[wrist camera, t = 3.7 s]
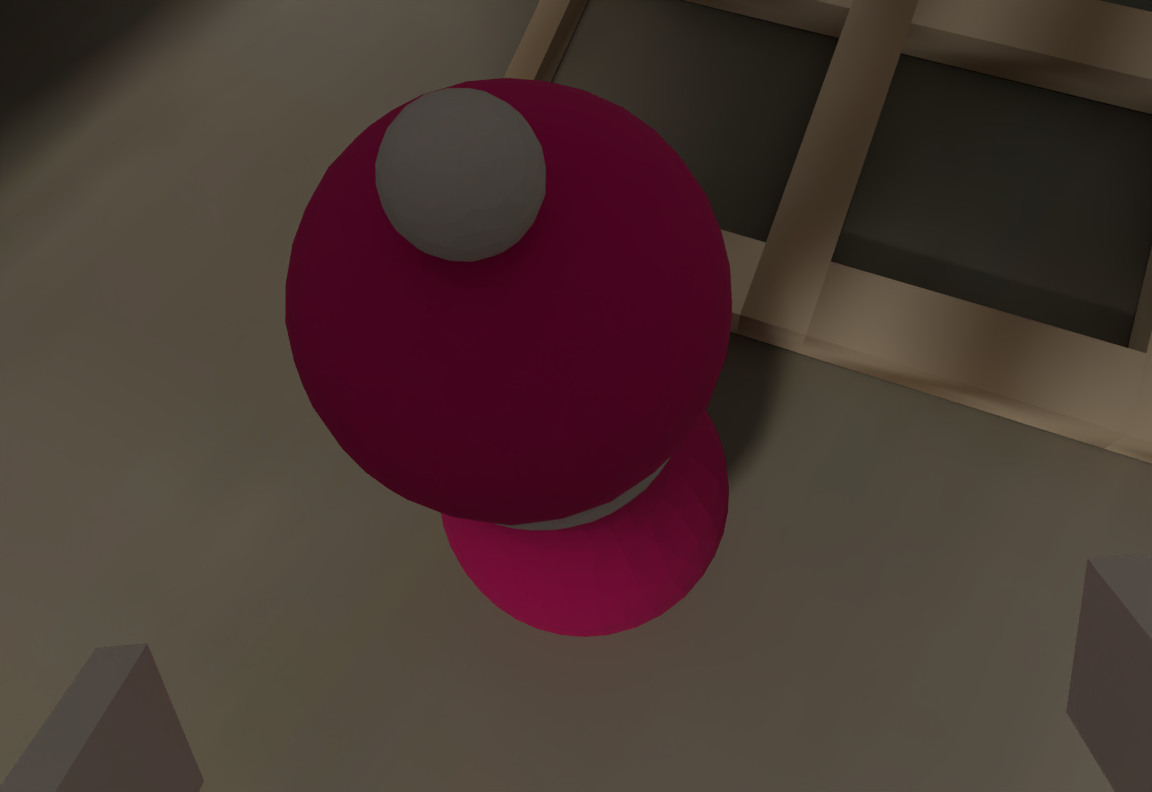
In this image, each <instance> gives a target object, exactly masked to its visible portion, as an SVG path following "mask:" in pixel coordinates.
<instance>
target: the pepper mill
mask: <svg viewBox="0 0 1152 792" xmlns="http://www.w3.org/2000/svg"><path fill="white" fill-rule="evenodd" d="M731 321H732V291H731V272H730V264H729V260H728V256H727V252H726V248H725V243H724V239H723V235H722V232H721V229H720V227H719V224H718V222H717V220H716V217H715V215H714V212H713V210H712V207H711V205H710V202H709V200H708V198H707V195H706V193H705V192H704V190H703V189H702V188H701V186H700V185H699V183H698V182H697V180H696V179H695V177H694V176H693V175H692V173H691V172H690V170H689V169H688V167H687V166H686V164H685V163H684V162H683V160H682V159H681V158H680V157H679V155H678V154H677V153H676V152H675V151H674V150H673V149H672V148H671V147H670V146H669V145H668V144H667V142H666V141H665V140H664V139H663V138H662V137H661V136H660V135H659V134H658V133H657V132H656V131H655V130H654V129H653V128H651V127H650V126H648V125H647V124H646V123H644V122H643V121H641V120H640V119H638V118H637V117H636V116H634V115H633V114H631V113H630V112H628V111H627V110H626V109H624V108H623V107H620V106H618V105H616V104H614V103H611V102H609V101H607V100H605V99H602V98H600V97H598V96H595V95H593V94H591V93H589V92H586V91H584V90H581V89H576V88H572V87H568V86H564V85H560V84H556V83H551V82H547V81H540V80H528V79H516V78H501V79H489V80H478V81H467V82H463V83H460V84H457V85H453V86H450V87H447V88H443V89H440V90H437V91H433V92H430V93H427V94H423V95H420V96H419V97H417V98H415V99H413V100H411V101H409V102H407V103H405V104H403V105H401V106H399V107H397V108H396V109H394V110H392V111H390V112H389V113H387V114H386V115H385V116H383V117H382V118H380V119H379V120H377V121H376V122H375V123H373V124H372V125H370V126H369V127H368V128H367V129H366V130H364V131H363V132H362V133H361V134H360V135H359V136H358V137H357V138H356V139H355V140H354V141H353V142H352V143H351V144H350V145H349V146H348V147H347V148H346V149H345V150H344V151H343V153H342V154H341V155H340V156H339V157H338V158H337V159H336V160H335V161H334V162H333V163H332V164H331V165H330V166H329V167H328V169H327V171H326V173H325V174H324V176H323V178H322V180H321V182H320V183H319V185H318V187H317V189H316V190H315V192H314V194H313V196H312V198H311V199H310V201H309V203H308V205H307V207H306V209H305V211H304V214H303V217H302V219H301V222H300V225H299V228H298V230H297V233H296V236H295V239H294V242H293V245H292V251H291V256H290V262H289V268H288V274H287V280H286V327H287V331H288V336H289V340H290V345H291V349H292V354H293V359H294V362H295V365H296V368H297V370H298V373H299V376H300V379H301V382H302V384H303V387H304V389H305V391H306V393H307V395H308V397H309V400H310V402H311V404H312V406H313V408H314V409H315V411H316V412H317V413H318V415H319V416H320V418H321V419H322V421H323V422H324V423H325V425H326V426H327V428H328V429H329V431H330V432H331V433H332V435H333V436H334V438H335V439H336V440H337V442H338V443H339V445H340V446H341V448H342V449H343V450H344V451H345V452H346V453H347V454H348V455H349V456H350V457H351V458H352V459H353V460H354V461H355V462H356V463H357V464H358V465H359V466H360V467H361V468H362V469H363V470H364V471H365V472H366V473H367V474H369V475H370V476H372V477H373V478H374V479H376V480H377V481H379V482H380V483H381V484H383V485H384V486H385V487H387V488H388V489H390V490H392V491H393V492H395V493H397V494H399V495H400V496H402V497H404V498H406V499H407V500H410V501H413V502H415V503H418V504H420V505H423V506H425V507H428V508H430V509H433V510H436V511H438V512H441V515H442V521H443V526H444V529H445V532H446V535H447V538H448V540H449V543H450V546H451V548H452V550H453V552H454V554H455V555H456V557H457V559H458V561H459V562H460V564H461V566H462V568H463V569H464V571H465V572H466V574H467V575H468V576H469V577H470V579H471V580H472V581H473V582H474V584H475V585H476V586H477V587H478V588H479V590H480V591H481V592H482V593H483V594H484V595H485V596H486V597H487V598H489V599H490V600H491V601H492V602H493V603H494V604H495V605H496V606H497V607H499V608H500V609H502V610H503V611H505V612H506V613H508V614H509V615H511V616H512V617H514V618H515V619H517V620H519V621H521V622H524V623H526V624H528V625H530V626H533V627H535V628H537V629H541V630H544V631H548V632H552V633H556V634H560V635H571V636H582V637H587V636H599V635H609V634H613V633H616V632H620V631H624V630H628V629H632V628H635V627H638V626H640V625H642V624H644V623H646V622H648V621H650V620H652V619H654V618H656V617H658V616H660V615H662V614H663V613H664V612H666V611H667V610H668V609H669V608H671V607H672V606H673V605H675V604H676V603H677V602H678V601H680V600H681V599H682V598H684V597H685V596H686V595H687V593H688V592H689V591H690V590H691V589H692V588H693V586H694V585H695V584H696V583H697V582H698V581H699V579H700V578H701V577H702V576H703V575H704V573H705V571H706V570H707V568H708V566H709V564H710V563H711V561H712V559H713V558H714V556H715V554H716V551H717V549H718V546H719V543H720V541H721V538H722V536H723V533H724V528H725V523H726V518H727V513H728V497H729V486H728V478H727V469H726V461H725V455H724V452H723V448H722V445H721V441H720V438H719V435H718V433H717V431H716V429H715V426H714V424H713V422H712V420H711V418H710V416H709V414H708V412H707V411H706V408H707V406H708V404H709V401H710V398H711V396H712V393H713V391H714V388H715V385H716V383H717V380H718V377H719V375H720V372H721V369H722V367H723V364H724V361H725V359H726V356H727V351H728V344H729V336H730V329H731Z"/></svg>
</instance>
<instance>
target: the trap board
mask: <svg viewBox="0 0 1152 792" xmlns="http://www.w3.org/2000/svg"><path fill="white" fill-rule="evenodd" d="M684 1H688V2H692V3H696V4H700V5H704V6H708V7H712V8H716V9H721V10H725V11H729V12H733V13H737V14H741V15H745V16H749V17H753V18H758V19H762V20H766V21H770V22H774V23H778V24H782V25H786V26H790V27H795V28H799V29H803V30H807V31H811V32H815V33H819V34H823V35H828V36H832V37H836V38H839V41H838V43H837V46H836V49H835V52H834V55H833V57H832V60H831V63H830V66H829V68H828V71H827V74H826V77H825V80H824V82H823V85H822V88H821V91H820V93H819V96H818V99H817V102H816V105H815V107H814V110H813V113H812V116H811V119H810V121H809V124H808V127H807V130H806V132H805V135H804V138H803V141H802V144H801V146H800V149H799V152H798V155H797V157H796V160H795V163H794V166H793V169H792V171H791V174H790V177H789V180H788V182H787V185H786V188H785V191H784V194H783V196H782V199H781V202H780V205H779V208H778V210H777V213H776V216H775V219H774V221H773V224H772V227H771V230H770V233H769V235H768V238H767V241H766V242H762V241H759V240H755V239H752V238H749V237H745V236H742V235H738V234H735V233H731V232H728V231H724V230H721V232H722V235H723V239H724V243H725V248H726V252H727V256H728V260H729V264H730V272H731V291H732V321H731V329H730V332H733V333H736V334H739V335H742V336H746V337H749V338H752V339H755V340H758V341H762V342H765V343H768V344H771V345H774V346H778V347H781V348H784V349H787V350H790V351H794V352H797V353H800V354H803V355H806V356H810V357H813V358H816V359H819V360H822V361H825V362H829V363H832V364H835V365H838V366H841V367H845V368H848V369H851V370H854V371H857V372H861V373H864V374H867V375H870V376H873V377H877V378H880V379H883V380H886V381H889V382H893V383H896V384H899V385H902V386H905V387H909V388H912V389H915V390H918V391H921V392H924V393H928V394H931V395H934V396H937V397H940V398H944V399H947V400H950V401H953V402H956V403H960V404H963V405H966V406H969V407H972V408H976V409H979V410H982V411H985V412H988V413H992V414H995V415H998V416H1001V417H1004V418H1008V419H1011V420H1014V421H1017V422H1020V423H1023V424H1027V425H1030V426H1033V427H1036V428H1039V429H1043V430H1046V431H1049V432H1052V433H1055V434H1059V435H1062V436H1065V437H1068V438H1071V439H1075V440H1078V441H1081V442H1084V443H1087V444H1091V445H1094V446H1097V447H1100V448H1103V449H1107V450H1110V451H1113V452H1116V453H1119V454H1122V455H1126V456H1129V457H1132V458H1135V459H1138V460H1142V461H1145V462H1148V463H1151V464H1152V247H1151V251H1150V255H1149V260H1148V264H1147V268H1146V272H1145V277H1144V281H1143V285H1142V290H1141V294H1140V298H1139V302H1138V307H1137V311H1136V315H1135V319H1134V324H1133V328H1132V332H1131V337H1130V341H1129V345H1128V348H1126V347H1123V346H1119V345H1116V344H1112V343H1109V342H1105V341H1102V340H1099V339H1095V338H1092V337H1088V336H1085V335H1081V334H1078V333H1075V332H1071V331H1068V330H1064V329H1061V328H1057V327H1054V326H1051V325H1047V324H1044V323H1040V322H1037V321H1033V320H1030V319H1027V318H1023V317H1020V316H1016V315H1013V314H1009V313H1006V312H1002V311H999V310H996V309H992V308H989V307H985V306H982V305H978V304H975V303H972V302H968V301H965V300H961V299H958V298H954V297H951V296H948V295H944V294H941V293H937V292H934V291H930V290H927V289H924V288H920V287H917V286H913V285H910V284H906V283H903V282H900V281H896V280H893V279H889V278H886V277H882V276H879V275H875V274H872V273H869V272H865V271H862V270H858V269H855V268H851V267H848V266H845V265H841V264H838V263H834V262H831V259H832V256H833V253H834V250H835V247H836V244H837V241H838V238H839V235H840V232H841V229H842V226H843V223H844V220H845V218H846V215H847V212H848V209H849V206H850V203H851V200H852V197H853V194H854V191H855V188H856V185H857V182H858V179H859V176H860V173H861V170H862V167H863V164H864V161H865V158H866V155H867V152H868V149H869V146H870V143H871V140H872V137H873V134H874V131H875V128H876V125H877V122H878V119H879V116H880V113H881V110H882V107H883V105H884V102H885V99H886V96H887V93H888V90H889V87H890V84H891V81H892V78H893V75H894V72H895V69H896V66H897V63H898V60H899V57H900V54H901V53H902V54H906V55H910V56H914V57H918V58H922V59H926V60H930V61H934V62H939V63H943V64H947V65H951V66H955V67H959V68H963V69H967V70H971V71H976V72H980V73H984V74H988V75H992V76H996V77H1000V78H1004V79H1009V80H1013V81H1017V82H1021V83H1025V84H1029V85H1033V86H1037V87H1041V88H1046V89H1050V90H1054V91H1058V92H1062V93H1066V94H1070V95H1074V96H1078V97H1083V98H1087V99H1091V100H1095V101H1099V102H1103V103H1107V104H1111V105H1115V106H1120V107H1124V108H1128V109H1132V110H1136V111H1140V112H1144V113H1148V114H1152V12H1150V11H1145V10H1141V9H1136V8H1132V7H1127V6H1123V5H1118V4H1114V3H1109V2H1105V1H1100V0H684ZM587 2H588V0H540V1H539V3H538V6H537V8H536V10H535V12H534V14H533V16H532V18H531V21H530V23H529V25H528V27H527V29H526V31H525V33H524V35H523V38H522V40H521V42H520V44H519V46H518V48H517V50H516V52H515V55H514V57H513V59H512V61H511V63H510V65H509V67H508V69H507V72H506V74H505V76H504V78H516V79H528V80H540V81H547V82H551V81H552V79H553V77H554V74H555V72H556V70H557V68H558V66H559V63H560V61H561V59H562V57H563V55H564V52H565V50H566V48H567V46H568V44H569V41H570V39H571V37H572V35H573V32H574V30H575V28H576V26H577V24H578V21H579V19H580V17H581V15H582V13H583V10H584V8H585V6H586V4H587Z"/></svg>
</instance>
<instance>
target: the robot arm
mask: <svg viewBox="0 0 1152 792" xmlns="http://www.w3.org/2000/svg"><path fill="white" fill-rule="evenodd" d="M1066 712H1067V714H1068V715H1069V717H1070V719H1071V720H1072V722H1073V724H1074V725H1075V727H1076V729H1077V730H1078V732H1079V733H1080V735H1081V737H1082V738H1083V740H1084V742H1085V743H1086V745H1087V747H1088V748H1089V750H1090V751H1091V753H1092V755H1093V756H1094V758H1095V760H1096V761H1097V763H1098V765H1099V766H1100V768H1101V770H1102V771H1103V773H1104V774H1105V776H1106V778H1107V779H1108V781H1109V783H1110V784H1111V786H1112V788H1113V789H1114V791H1115V792H1152V559H1151V558H1150V557H1149V556H1148V555H1147V554H1135V555H1124V556H1113V557H1102V558H1091V559H1088V560H1087V567H1086V574H1085V581H1084V588H1083V596H1082V603H1081V610H1080V617H1079V624H1078V632H1077V639H1076V646H1075V653H1074V660H1073V668H1072V675H1071V682H1070V689H1069V696H1068V703H1067V711H1066ZM203 782H204V780H203V777H202V775H201V772H200V770H199V768H198V765H197V763H196V760H195V758H194V756H193V753H192V751H191V748H190V746H189V743H188V741H187V739H186V736H185V734H184V731H183V729H182V726H181V724H180V722H179V719H178V717H177V714H176V712H175V710H174V707H173V705H172V702H171V700H170V697H169V695H168V693H167V690H166V688H165V685H164V683H163V680H162V678H161V676H160V673H159V671H158V668H157V666H156V664H155V661H154V659H153V656H152V654H151V651H150V649H149V647H148V644H137V645H126V646H115V647H104V648H96V649H95V651H94V652H93V653H92V655H91V656H90V658H89V659H88V661H87V662H86V664H85V665H84V666H83V668H82V669H81V671H80V672H79V674H78V675H77V677H76V678H75V680H74V681H73V682H72V684H71V685H70V687H69V688H68V690H67V691H66V693H65V694H64V695H63V697H62V698H61V700H60V701H59V703H58V704H57V706H56V707H55V708H54V710H53V711H52V713H51V714H50V716H49V717H48V719H47V720H46V722H45V723H44V724H43V726H42V727H41V729H40V730H39V732H38V733H37V735H36V736H35V737H34V739H33V740H32V742H31V743H30V745H29V746H28V748H27V749H26V750H25V752H24V753H23V755H22V756H21V758H20V759H19V761H18V762H17V764H16V765H15V766H14V768H13V769H12V771H11V772H10V774H9V775H8V777H7V778H6V779H5V781H4V782H3V784H2V785H1V787H0V792H199V790H200V788H201V786H202V784H203Z"/></svg>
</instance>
